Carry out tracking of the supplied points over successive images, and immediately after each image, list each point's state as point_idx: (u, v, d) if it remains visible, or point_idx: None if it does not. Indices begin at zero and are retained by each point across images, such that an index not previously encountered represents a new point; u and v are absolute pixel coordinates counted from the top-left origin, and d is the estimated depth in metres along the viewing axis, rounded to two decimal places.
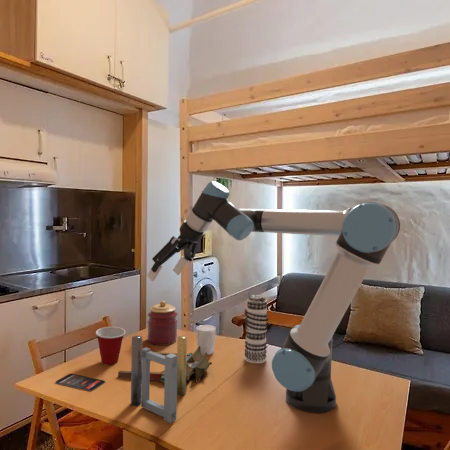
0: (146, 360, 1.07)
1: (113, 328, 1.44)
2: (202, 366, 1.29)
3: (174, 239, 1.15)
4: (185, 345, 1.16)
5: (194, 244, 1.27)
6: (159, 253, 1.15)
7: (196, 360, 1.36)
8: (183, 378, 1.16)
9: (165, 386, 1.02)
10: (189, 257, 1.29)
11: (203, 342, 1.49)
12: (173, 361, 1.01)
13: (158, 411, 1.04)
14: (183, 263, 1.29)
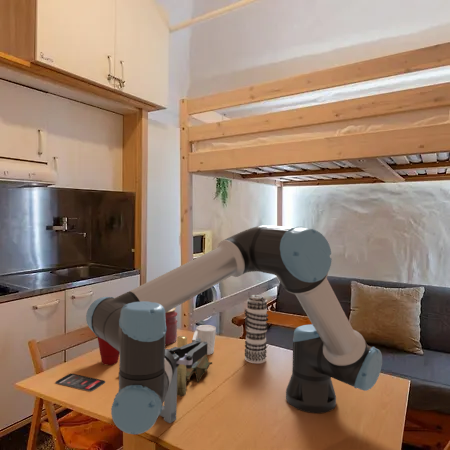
0: None
1: None
2: (202, 366, 1.30)
3: (191, 362, 0.78)
4: None
5: None
6: (202, 354, 0.84)
7: None
8: (183, 378, 1.16)
9: None
10: None
11: None
12: None
13: None
14: None
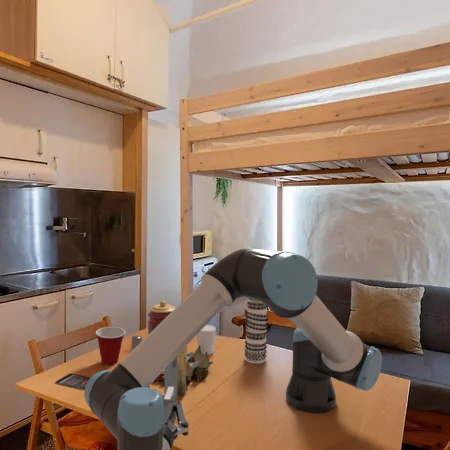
0: None
1: (113, 328, 1.44)
2: (203, 365, 1.30)
3: None
4: None
5: None
6: None
7: (197, 360, 1.37)
8: (183, 378, 1.16)
9: (165, 386, 1.02)
10: None
11: (203, 342, 1.49)
12: (173, 361, 1.01)
13: None
14: None
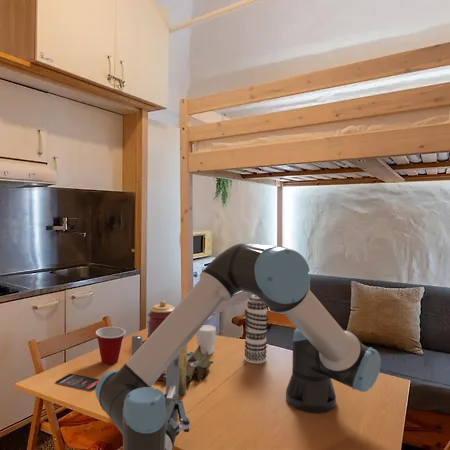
0: None
1: (113, 328, 1.44)
2: (204, 365, 1.30)
3: None
4: None
5: None
6: None
7: (197, 359, 1.37)
8: (183, 378, 1.16)
9: (167, 385, 1.02)
10: None
11: (203, 342, 1.49)
12: (175, 360, 1.02)
13: None
14: None
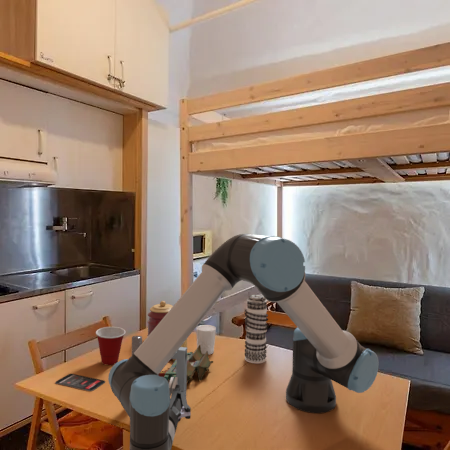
0: None
1: (113, 328, 1.44)
2: (204, 365, 1.31)
3: (190, 412, 0.90)
4: (185, 345, 1.16)
5: None
6: None
7: (197, 359, 1.37)
8: None
9: None
10: None
11: (203, 342, 1.49)
12: (185, 353, 1.07)
13: None
14: (171, 387, 1.01)
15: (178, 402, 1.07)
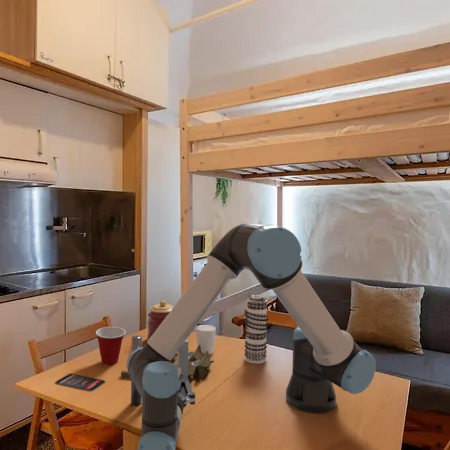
0: None
1: (113, 328, 1.44)
2: (205, 364, 1.31)
3: (194, 398, 0.97)
4: None
5: None
6: None
7: (197, 359, 1.38)
8: None
9: (181, 369, 1.13)
10: None
11: (203, 342, 1.49)
12: None
13: None
14: None
15: (182, 391, 1.14)
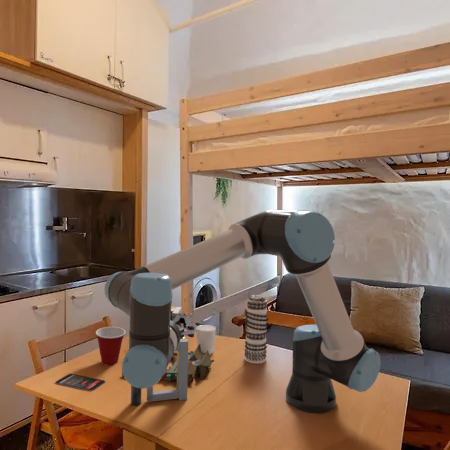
0: None
1: (113, 328, 1.44)
2: (205, 364, 1.32)
3: (193, 331, 0.87)
4: None
5: None
6: None
7: (198, 358, 1.38)
8: None
9: (181, 369, 1.13)
10: None
11: (203, 342, 1.49)
12: None
13: (170, 395, 1.13)
14: None
15: (182, 391, 1.14)
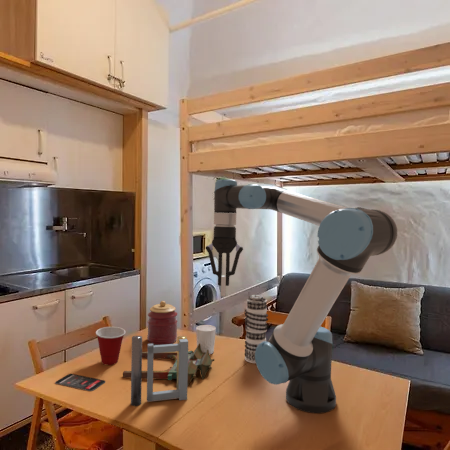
0: None
1: (113, 328, 1.44)
2: (206, 363, 1.32)
3: None
4: None
5: (236, 254, 1.25)
6: None
7: (198, 357, 1.39)
8: None
9: (181, 369, 1.13)
10: (227, 271, 1.25)
11: (203, 342, 1.49)
12: None
13: (170, 395, 1.13)
14: None
15: (182, 391, 1.14)
